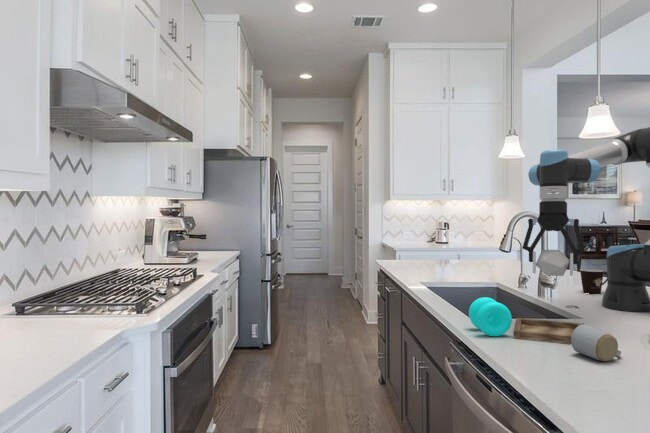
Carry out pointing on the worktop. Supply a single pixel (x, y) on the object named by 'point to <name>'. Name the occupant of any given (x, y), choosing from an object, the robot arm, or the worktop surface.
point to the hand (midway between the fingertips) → (552, 273)
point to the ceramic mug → (594, 343)
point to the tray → (544, 330)
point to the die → (552, 262)
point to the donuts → (498, 316)
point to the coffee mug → (592, 280)
